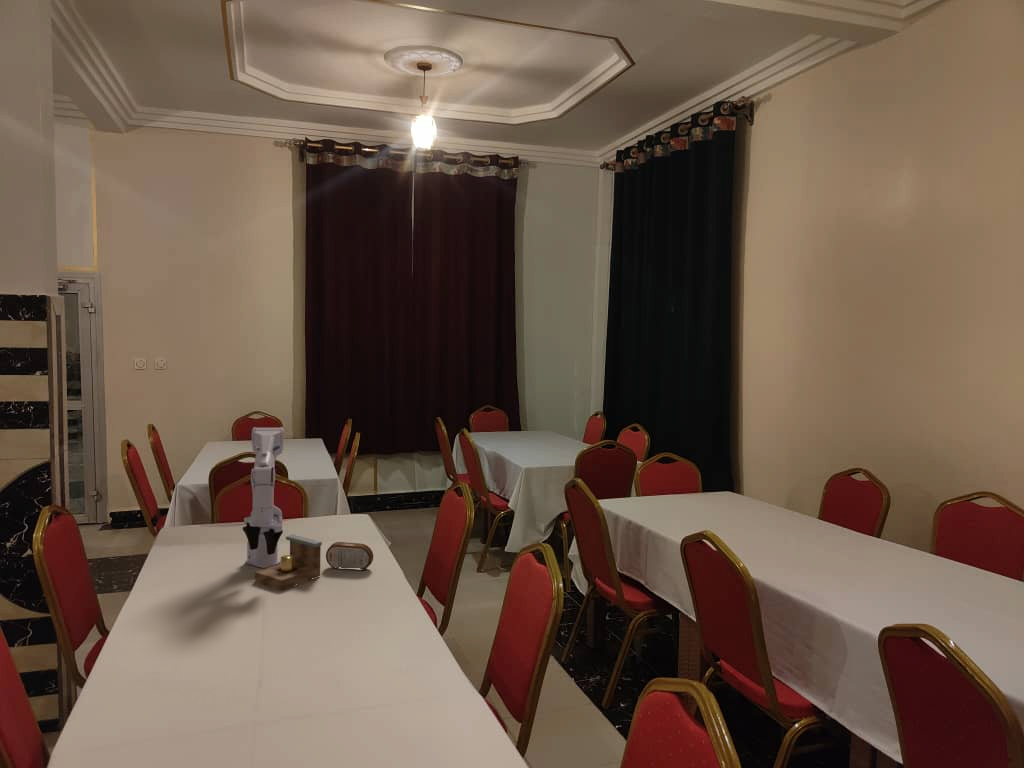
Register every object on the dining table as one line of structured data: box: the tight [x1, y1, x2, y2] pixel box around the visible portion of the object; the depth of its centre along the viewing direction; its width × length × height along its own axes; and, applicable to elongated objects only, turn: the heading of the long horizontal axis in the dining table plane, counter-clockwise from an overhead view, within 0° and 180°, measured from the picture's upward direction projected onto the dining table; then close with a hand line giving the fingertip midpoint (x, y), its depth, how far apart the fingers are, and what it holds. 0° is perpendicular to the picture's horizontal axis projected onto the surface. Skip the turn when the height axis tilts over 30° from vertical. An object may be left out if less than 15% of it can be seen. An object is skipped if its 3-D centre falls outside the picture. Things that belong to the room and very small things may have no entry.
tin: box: [325, 541, 374, 570], centre depth 225 cm, size 15×3×8 cm, turn 84°
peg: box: [280, 554, 293, 574], centre depth 214 cm, size 4×4×7 cm
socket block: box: [254, 534, 323, 591], centre depth 214 cm, size 13×15×11 cm
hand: (262, 551), depth 210 cm, fingers open, 7 cm apart
